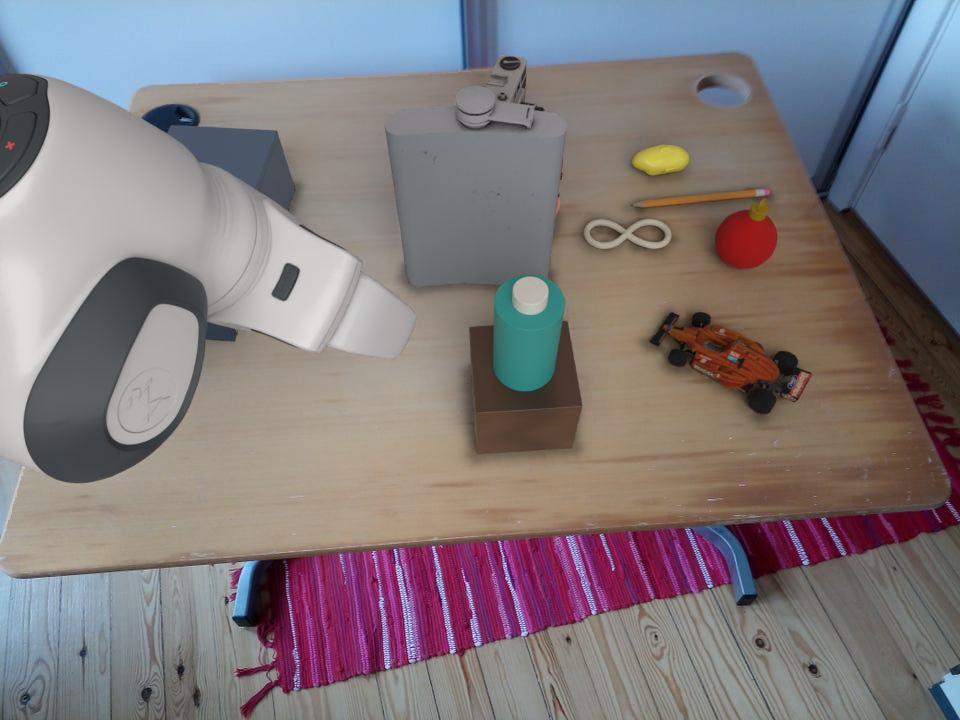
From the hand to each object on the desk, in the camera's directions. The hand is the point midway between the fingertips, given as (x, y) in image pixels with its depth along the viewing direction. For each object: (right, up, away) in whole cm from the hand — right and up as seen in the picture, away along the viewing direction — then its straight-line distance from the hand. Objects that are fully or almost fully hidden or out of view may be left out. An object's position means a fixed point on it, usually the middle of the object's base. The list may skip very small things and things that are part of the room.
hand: (333, 302), depth 55 cm
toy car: (+40, -5, +21) cm, 45 cm away
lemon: (+37, +22, +38) cm, 57 cm away
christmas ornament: (+44, +8, +29) cm, 54 cm away
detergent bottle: (+16, -5, +10) cm, 20 cm away
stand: (+16, -10, +18) cm, 26 cm away
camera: (+16, +26, +41) cm, 51 cm away
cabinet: (-21, +12, +32) cm, 40 cm away
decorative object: (+31, +11, +31) cm, 45 cm away
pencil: (+41, +16, +35) cm, 56 cm away
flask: (+12, +6, +28) cm, 31 cm away
